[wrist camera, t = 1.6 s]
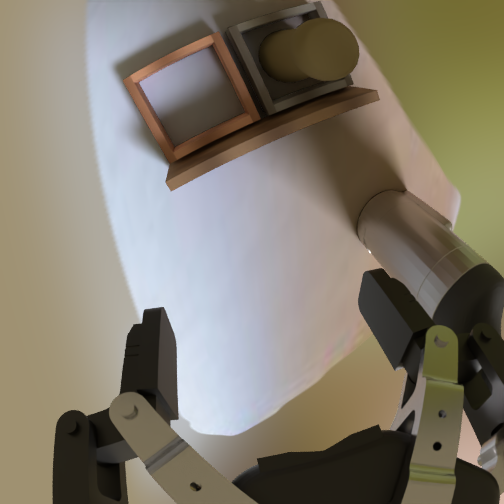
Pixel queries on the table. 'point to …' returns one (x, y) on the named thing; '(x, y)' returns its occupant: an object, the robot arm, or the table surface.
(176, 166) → the shaker rack
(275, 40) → the cork
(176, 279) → the table surface
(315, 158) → the table surface
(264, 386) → the table surface
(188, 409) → the table surface
